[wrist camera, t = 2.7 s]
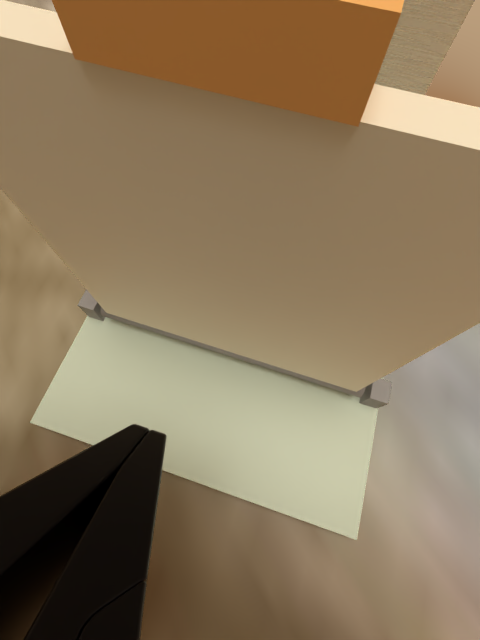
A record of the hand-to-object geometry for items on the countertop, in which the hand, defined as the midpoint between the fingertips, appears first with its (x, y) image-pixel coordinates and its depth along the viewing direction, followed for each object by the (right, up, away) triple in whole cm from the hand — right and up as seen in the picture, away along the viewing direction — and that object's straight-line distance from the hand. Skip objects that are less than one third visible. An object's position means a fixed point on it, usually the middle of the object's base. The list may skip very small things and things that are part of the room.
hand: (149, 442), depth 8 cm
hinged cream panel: (+2, +2, +8) cm, 8 cm away
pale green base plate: (+2, +3, +11) cm, 11 cm away
